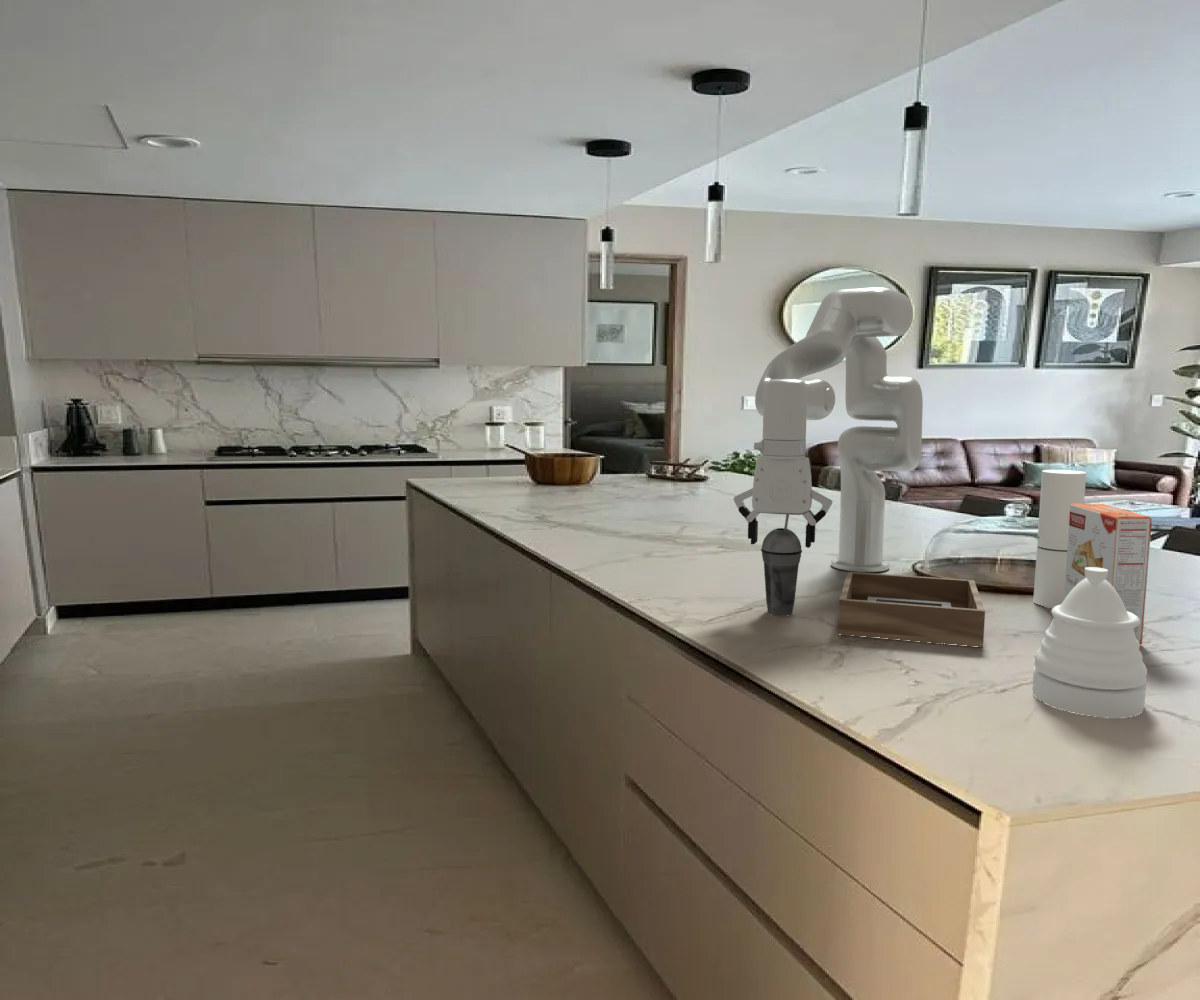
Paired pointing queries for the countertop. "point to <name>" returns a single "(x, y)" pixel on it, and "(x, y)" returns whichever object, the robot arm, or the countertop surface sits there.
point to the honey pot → (1091, 653)
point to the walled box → (912, 608)
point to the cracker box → (1111, 552)
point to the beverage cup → (781, 569)
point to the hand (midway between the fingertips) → (780, 544)
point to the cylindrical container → (1055, 533)
